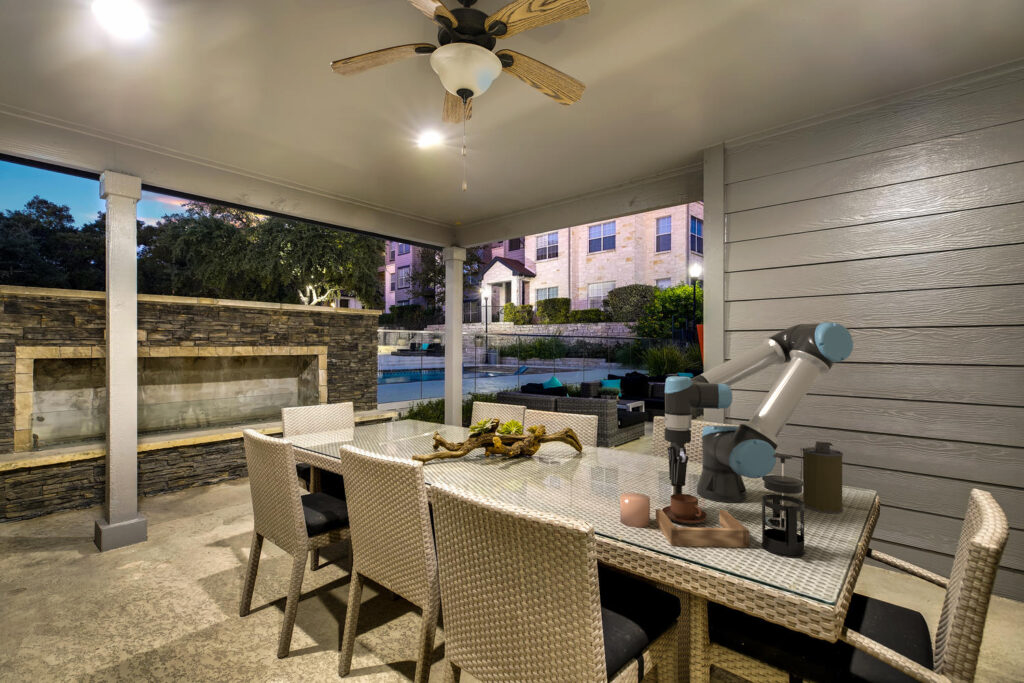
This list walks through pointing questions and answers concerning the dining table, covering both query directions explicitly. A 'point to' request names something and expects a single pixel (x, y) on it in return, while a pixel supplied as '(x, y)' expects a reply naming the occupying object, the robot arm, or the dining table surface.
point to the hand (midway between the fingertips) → (676, 506)
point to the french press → (784, 529)
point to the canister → (822, 478)
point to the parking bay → (705, 532)
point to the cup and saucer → (684, 509)
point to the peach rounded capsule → (635, 510)
